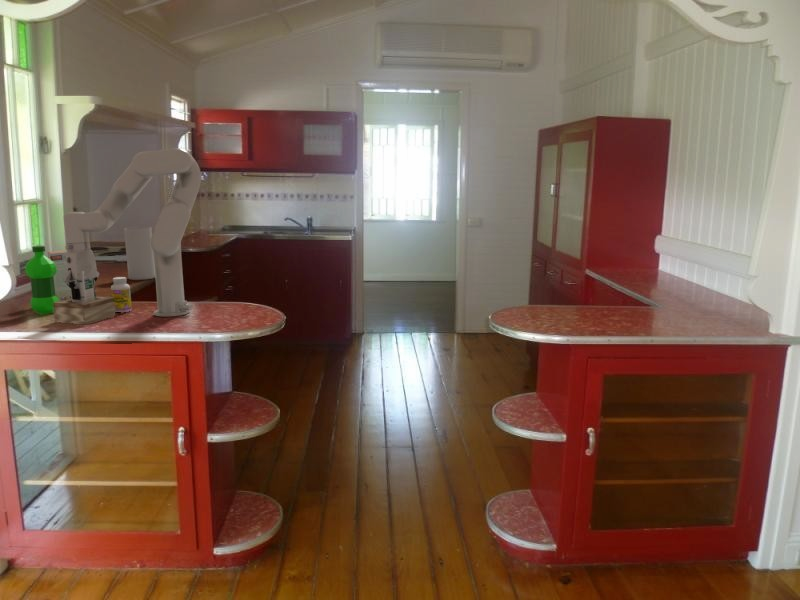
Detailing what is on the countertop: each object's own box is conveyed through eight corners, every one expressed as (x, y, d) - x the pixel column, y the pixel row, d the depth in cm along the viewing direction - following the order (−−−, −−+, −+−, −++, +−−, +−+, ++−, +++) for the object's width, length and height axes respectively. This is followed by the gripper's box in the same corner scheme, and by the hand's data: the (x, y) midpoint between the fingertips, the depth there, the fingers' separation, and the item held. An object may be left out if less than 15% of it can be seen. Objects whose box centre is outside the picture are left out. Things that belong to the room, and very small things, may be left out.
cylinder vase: (159, 278, 341) (155, 227, 336) (134, 281, 333) (129, 229, 328) (149, 275, 350) (145, 226, 345) (124, 278, 342) (120, 228, 337)
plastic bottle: (47, 309, 265) (39, 244, 261) (67, 311, 261) (60, 245, 257) (24, 314, 256) (16, 247, 252) (44, 316, 252) (37, 248, 248)
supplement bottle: (111, 314, 255) (108, 279, 252) (114, 310, 261) (110, 277, 259) (130, 312, 256) (127, 278, 254) (132, 309, 263) (129, 276, 260)
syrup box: (87, 311, 242) (82, 270, 239) (72, 311, 243) (68, 270, 240) (97, 308, 247) (93, 268, 245) (82, 307, 249) (78, 268, 246)
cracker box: (89, 298, 287) (84, 248, 283) (93, 300, 282) (87, 250, 279) (52, 302, 279) (47, 251, 275) (55, 305, 274) (49, 252, 270)
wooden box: (115, 316, 250) (113, 297, 249) (86, 324, 237) (84, 304, 236) (85, 314, 255) (83, 295, 253) (54, 322, 242) (52, 302, 240)
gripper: (67, 250, 232) (73, 302, 235) (105, 245, 248) (110, 294, 251) (50, 250, 234) (56, 301, 238) (89, 244, 250) (94, 293, 254)
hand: (84, 297), depth 244 cm, fingers closed on syrup box, 6 cm apart
